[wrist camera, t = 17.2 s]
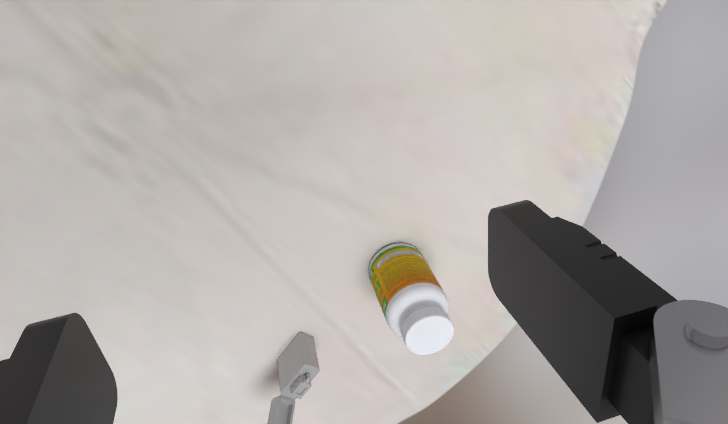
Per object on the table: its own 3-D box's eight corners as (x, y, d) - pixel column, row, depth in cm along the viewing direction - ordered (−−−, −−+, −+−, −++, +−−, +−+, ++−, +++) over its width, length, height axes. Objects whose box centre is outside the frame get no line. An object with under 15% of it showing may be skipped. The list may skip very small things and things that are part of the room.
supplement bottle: (357, 259, 46) (385, 330, 37) (410, 231, 45) (449, 297, 37) (381, 298, 48) (411, 372, 40) (431, 272, 48) (471, 341, 40)
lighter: (299, 331, 48) (310, 396, 41) (314, 337, 49) (327, 402, 42) (259, 380, 50) (263, 451, 43) (274, 385, 51) (280, 455, 44)
